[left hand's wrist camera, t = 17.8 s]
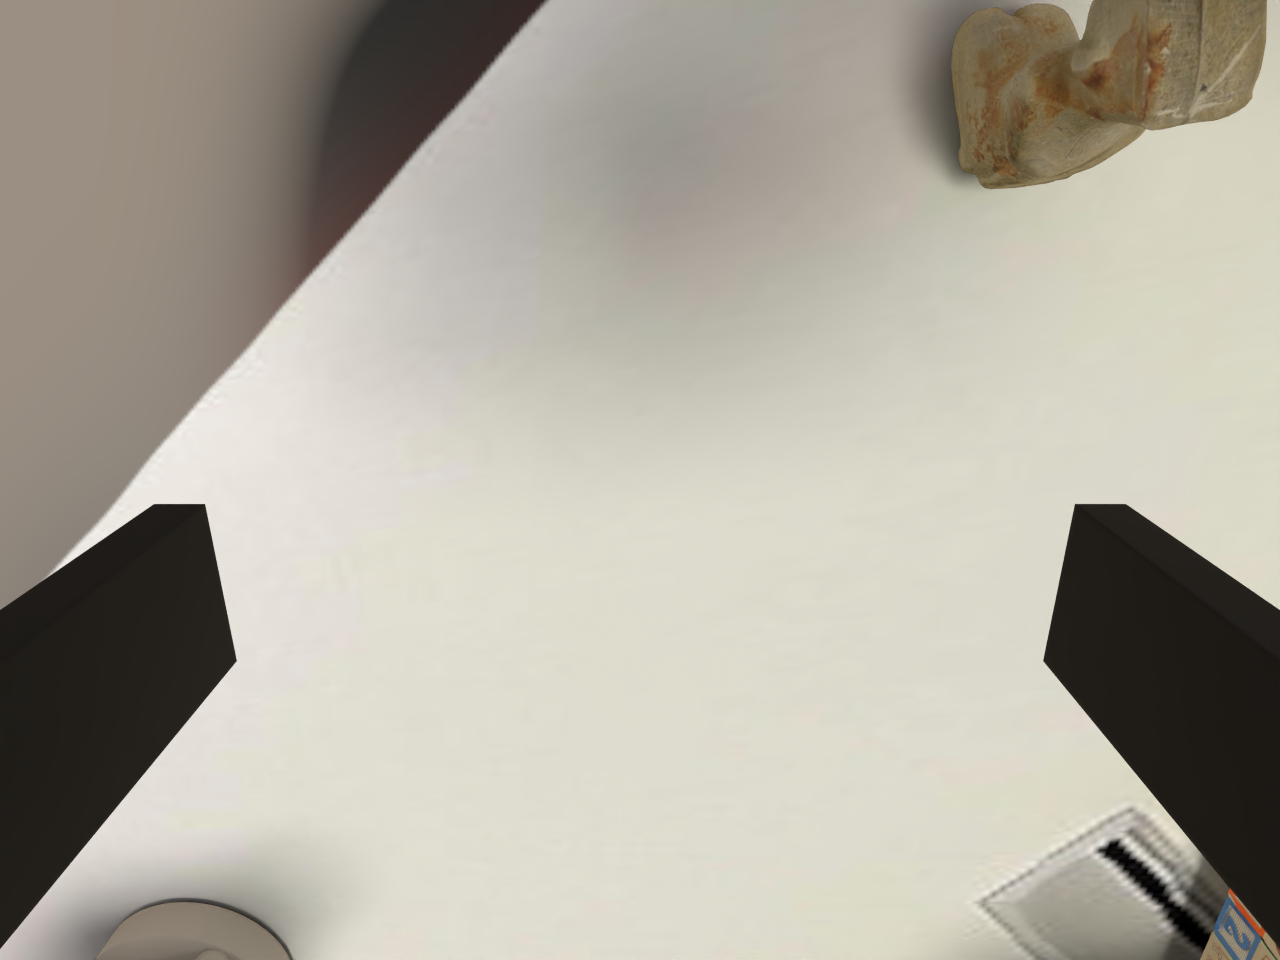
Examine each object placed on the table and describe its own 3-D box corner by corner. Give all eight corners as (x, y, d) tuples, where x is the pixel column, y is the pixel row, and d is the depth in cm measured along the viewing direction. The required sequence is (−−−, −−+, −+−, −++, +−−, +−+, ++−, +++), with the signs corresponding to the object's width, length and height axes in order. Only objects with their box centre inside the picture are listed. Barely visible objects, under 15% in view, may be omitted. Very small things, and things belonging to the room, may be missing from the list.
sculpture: (1067, 5, 36) (1345, -102, 22) (1052, 180, 38) (1290, 187, 24) (932, 17, 36) (1121, -81, 22) (925, 191, 38) (1090, 204, 24)
